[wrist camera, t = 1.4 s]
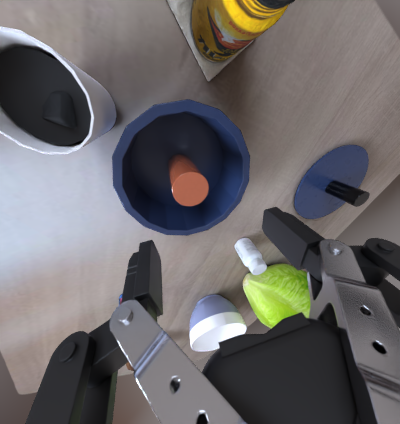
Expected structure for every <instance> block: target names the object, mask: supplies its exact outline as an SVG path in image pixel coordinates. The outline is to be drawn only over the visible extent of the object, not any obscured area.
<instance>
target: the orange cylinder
mask: <svg viewBox="0 0 400 424" xmlns="http://www.w3.org/2000/svg"><path fill="white" fill-rule="evenodd" d="M167 169H168V174H169V179H170V184H171V188H172V193H173V197H174V198H175V200H176V201H177V202H178V203H180V204H181V205H184V206H194V205H197V204H199V203H201V202H202V201H203V200H204V199H205V198H206V196H207V194H208V191H209V185H208V182H207V180H206V178H205V177H204V176H203V174H202V173H201V172H200V170H199V169H198V168H197V166H196V165H195V164H194V162H193V161H192V160H191V159H190V157H189V156H187V155H186V154H182V153H178V154H175V155H173V156H172V157H171V158H170V159H169V161H168V164H167Z"/></svg>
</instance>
